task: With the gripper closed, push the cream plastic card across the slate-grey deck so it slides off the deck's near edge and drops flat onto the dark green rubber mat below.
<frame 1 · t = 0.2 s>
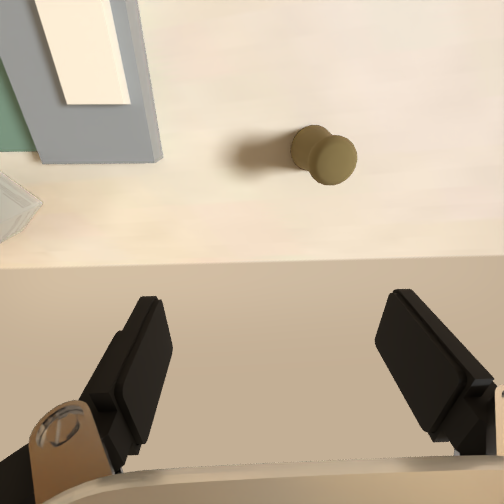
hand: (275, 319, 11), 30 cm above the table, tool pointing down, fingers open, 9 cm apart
deck: (87, 60, 31), on the table
card: (91, 55, 27), point 4 cm above the table, touching deck
supplement box: (10, 200, 39), on the table
cork: (311, 148, 36), on the table
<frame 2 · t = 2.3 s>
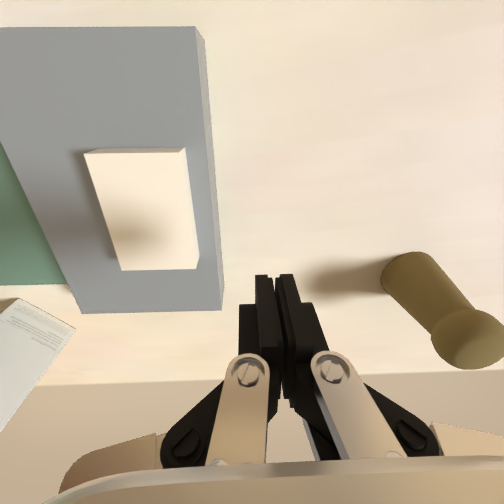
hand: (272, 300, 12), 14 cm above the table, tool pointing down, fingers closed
deck: (140, 193, 24), on the table
card: (155, 208, 20), point 4 cm above the table, touching deck
supplement box: (36, 326, 32), on the table
cork: (406, 273, 30), on the table
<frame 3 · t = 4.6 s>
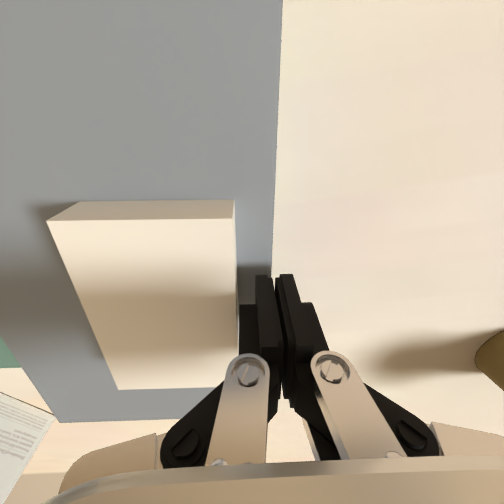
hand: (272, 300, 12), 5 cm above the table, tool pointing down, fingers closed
deck: (150, 251, 16), on the table
card: (175, 291, 12), point 4 cm above the table, touching deck, gripper
supplement box: (2, 412, 24), on the table
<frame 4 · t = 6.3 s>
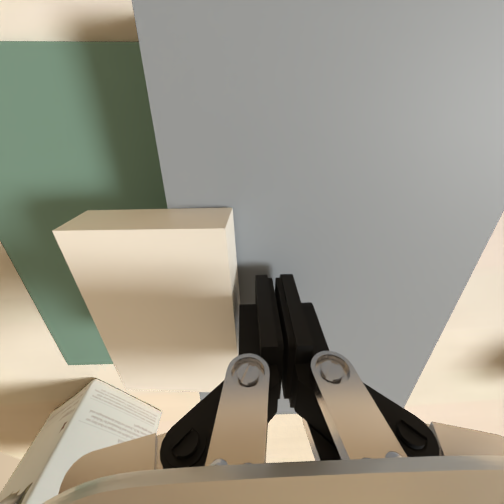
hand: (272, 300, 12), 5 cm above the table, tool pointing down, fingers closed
deck: (308, 247, 16), on the table
card: (178, 296, 13), point 4 cm above the table, touching deck, gripper
supplement box: (108, 408, 24), on the table
mat: (96, 251, 16), on the table
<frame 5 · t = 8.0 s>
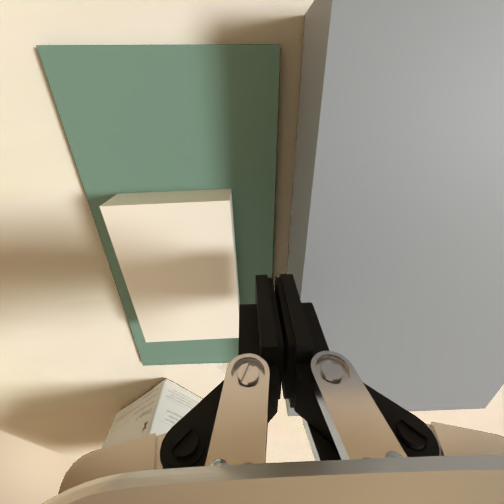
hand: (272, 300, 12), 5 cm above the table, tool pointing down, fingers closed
deck: (399, 247, 16), on the table
card: (181, 282, 14), point 2 cm above the table, tilted 180°, touching mat
supplement box: (171, 408, 24), on the table
mat: (191, 252, 16), on the table
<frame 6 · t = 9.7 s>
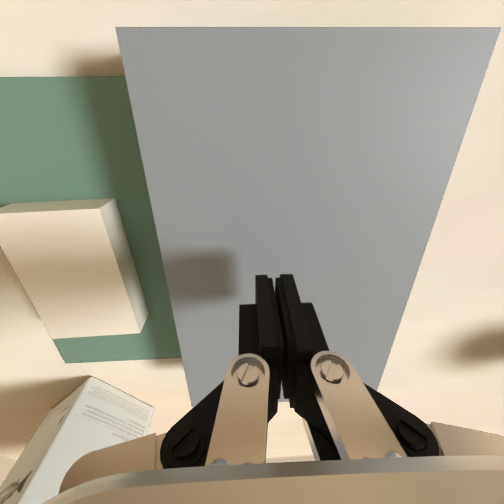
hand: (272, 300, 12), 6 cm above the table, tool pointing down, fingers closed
deck: (282, 248, 18), on the table
card: (72, 282, 16), point 2 cm above the table, tilted 180°, touching mat
supplement box: (104, 406, 25), on the table
mat: (92, 255, 17), on the table
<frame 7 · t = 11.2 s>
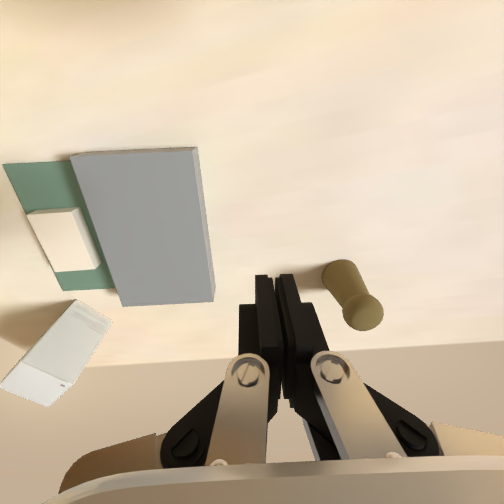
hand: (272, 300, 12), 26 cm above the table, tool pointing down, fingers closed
deck: (160, 228, 38), on the table
card: (62, 243, 36), point 2 cm above the table, tilted 180°, touching mat
supplement box: (85, 320, 46), on the table
cork: (339, 274, 43), on the table
mat: (72, 233, 38), on the table
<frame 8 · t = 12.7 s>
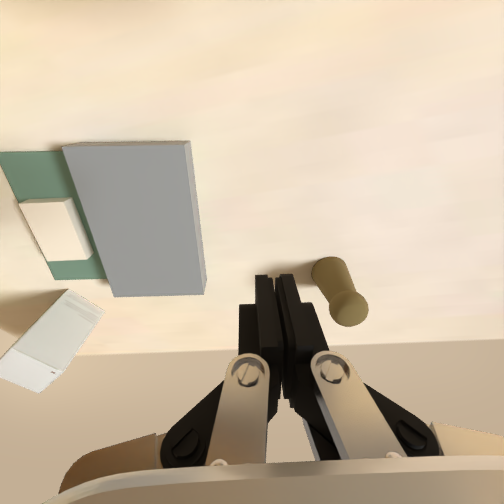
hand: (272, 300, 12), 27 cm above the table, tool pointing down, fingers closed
deck: (152, 221, 38), on the table
card: (54, 233, 36), point 2 cm above the table, tilted 180°, touching mat
supplement box: (77, 309, 47), on the table
cork: (328, 271, 44), on the table
mat: (64, 223, 38), on the table
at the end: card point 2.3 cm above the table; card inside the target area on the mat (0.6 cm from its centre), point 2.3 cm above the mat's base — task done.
